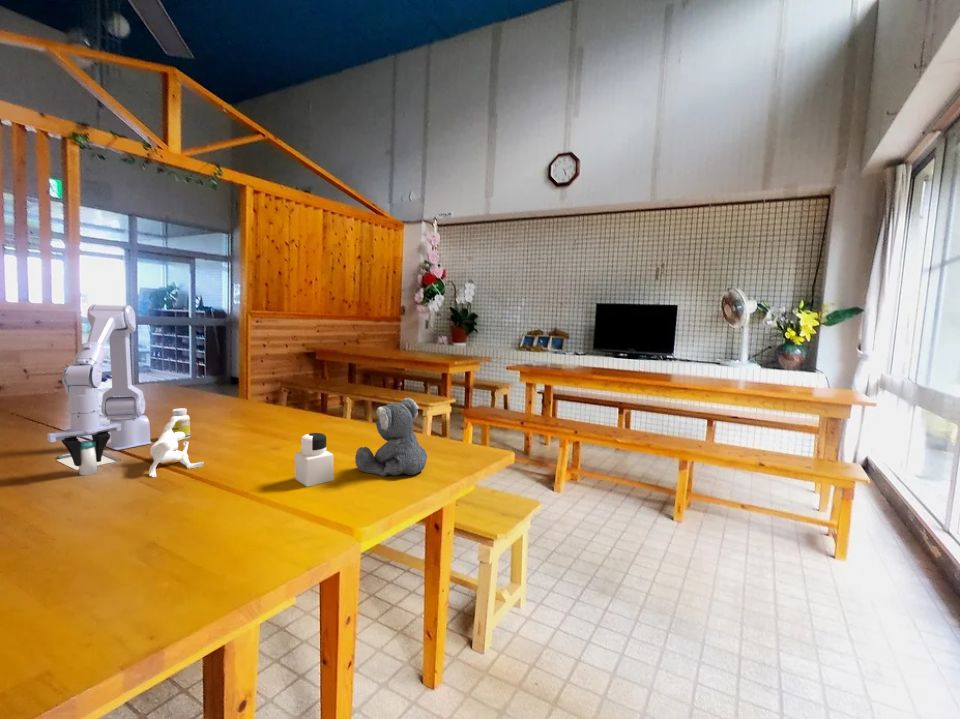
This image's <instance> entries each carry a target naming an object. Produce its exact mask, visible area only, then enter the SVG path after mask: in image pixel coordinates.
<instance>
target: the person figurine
mask: <svg viewBox="0 0 960 719" xmlns="http://www.w3.org/2000/svg"><path fill="white" fill-rule="evenodd" d="M171 417H172V416H171ZM171 417H170V418H171ZM170 418H169V422H167V423H166V424H165V425H164V428H163V429H162V432H161V434H160V435H159V437H158V439H157V441H155V442H154V443H153V444H152V446H150V450H149V451H150V452H149V454H150V457H151V456H152V459H153V462H152V464H151V465H150V467H149V469H148V475H149V477H152V478H157V472H156V469H157V466H158V465H159V463H162V464H164V463H167V462H177V461H179V462H180V463H181V464H182V465H184V466H186V469H187V470H191V469H190V468H193V469H197V468H196V467H199V468H202V467H203V466H204V463H205V462H204V461H199V462H194V463H191V462H190V460H189V455H188V448H189V441H183V442H182V443H183V444H182V445H183V449H182V451H181V450H178V448H179V441H182V439H184V438H185V433H183V432H175V433H174V432H173V431H172V428H173V427H174V425H175V422H177V421H178V420H182V417H181V416H174V417H172V418H171V419H170ZM184 440H185V439H184Z"/></svg>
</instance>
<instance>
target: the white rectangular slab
mask: <svg viewBox="0 0 960 719" xmlns="http://www.w3.org/2000/svg"><path fill="white" fill-rule="evenodd" d="M121 459H122V458H119V457H117V456H115V455H112V454H109V453H107V452H104V451H103V454H102V458H101V462H97V467H98V466H102V465H105V464H106V465H107V464H111V463H115V462H121ZM56 462H58V463H60V464H63V465H65V466H66V467H69V468H71V469H72V470H75V471H79V466H75V465H74V462H73V459H72V457H68V458H63V459H59V458H57V459H56Z"/></svg>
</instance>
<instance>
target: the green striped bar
mask: <svg viewBox="0 0 960 719" xmlns="http://www.w3.org/2000/svg"><path fill="white" fill-rule="evenodd" d="M69 457H71V454H70V453H69V452H68V453H64V454H59V455H57V456H56V458H57V459H63V458H69Z"/></svg>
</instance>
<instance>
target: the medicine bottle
mask: <svg viewBox="0 0 960 719" xmlns="http://www.w3.org/2000/svg"><path fill="white" fill-rule="evenodd" d="M300 442H301V443H300V444H301V445H300V447H301V450H300V451H298V452H295V454H294V476H295V477H294V479H295V481H298V482H299V483H301V484H302V485H304V486H305V487H307V488H309V487H312V486H317V485H321V484H324V483H328V482H329V483H330V482H333V480H334V454H333V453H331V452H330V451H328V450H327V435H325V434H324V433H321V432H310V433H306V434H304V435H303V436H301V437H300Z"/></svg>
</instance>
